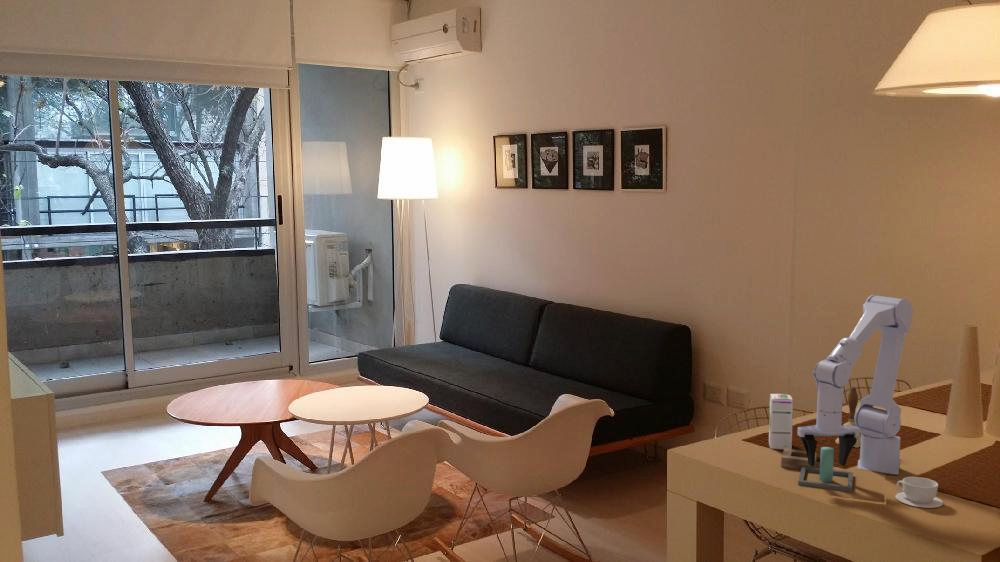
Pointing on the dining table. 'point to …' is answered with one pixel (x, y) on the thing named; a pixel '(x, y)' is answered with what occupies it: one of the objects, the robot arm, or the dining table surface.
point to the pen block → (795, 459)
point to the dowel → (826, 464)
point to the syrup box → (780, 421)
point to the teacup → (919, 492)
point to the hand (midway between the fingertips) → (826, 464)
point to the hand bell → (852, 414)
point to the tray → (825, 485)
